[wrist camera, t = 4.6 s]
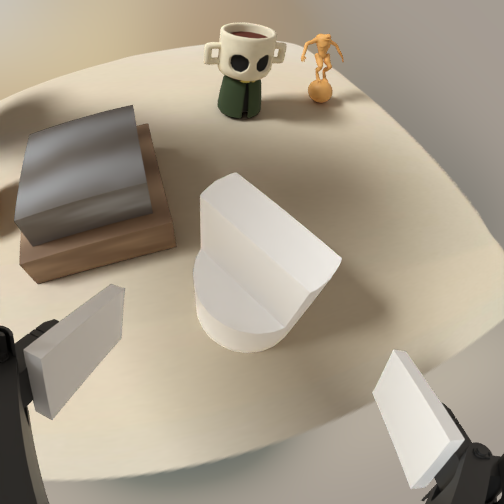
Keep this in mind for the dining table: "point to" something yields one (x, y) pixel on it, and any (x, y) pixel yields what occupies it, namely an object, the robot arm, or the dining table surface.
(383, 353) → the dining table surface
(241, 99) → the character mug
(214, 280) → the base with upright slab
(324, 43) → the figurine
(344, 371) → the dining table surface
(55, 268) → the grey and brown block
